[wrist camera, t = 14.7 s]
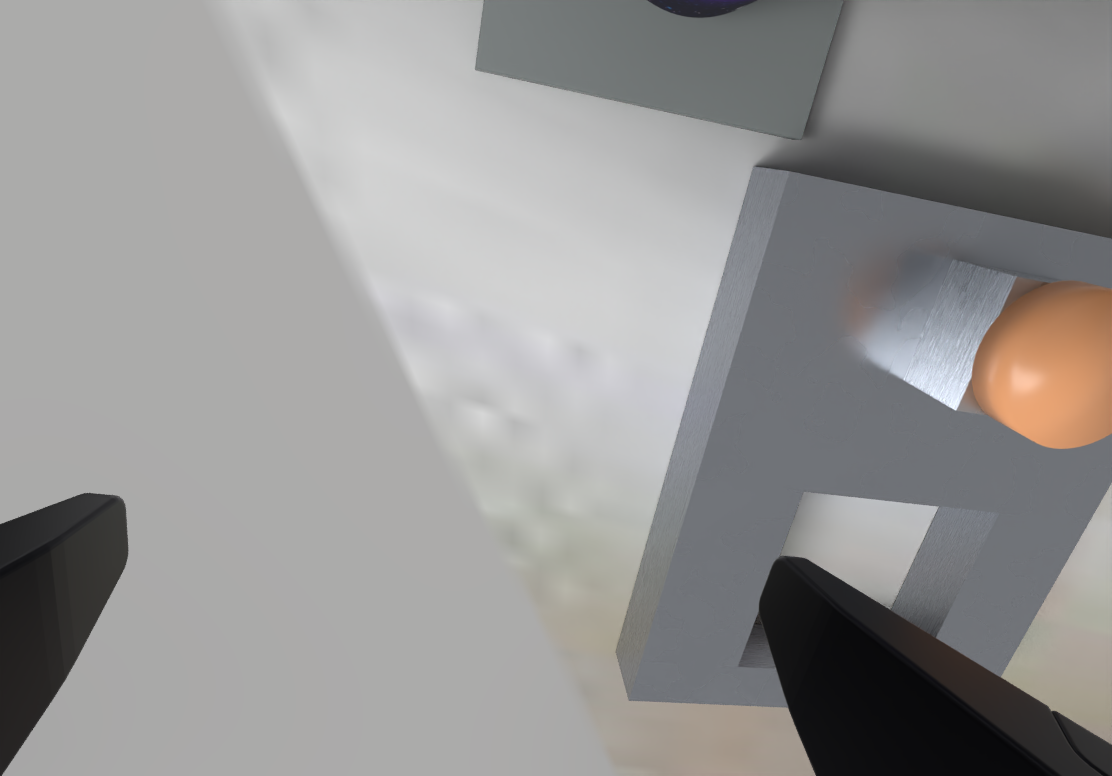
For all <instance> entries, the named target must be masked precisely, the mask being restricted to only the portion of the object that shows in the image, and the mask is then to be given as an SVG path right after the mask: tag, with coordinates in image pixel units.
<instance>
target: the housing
mask: <svg viewBox="0 0 1112 776" xmlns="http://www.w3.org/2000/svg"><path fill="white" fill-rule="evenodd" d="M1068 280H1074V281H1082V282H1086V283H1090V284H1094V285H1098V286H1102V287H1106V288H1110V289H1112V239H1111V238H1106V237H1102V236H1097V235H1092V234H1087V233H1082V232H1078V231H1073V230H1068V229H1063V228H1059V227H1054V226H1049V225H1044V224H1039V223H1035V222H1030V221H1025V220H1020V219H1016V218H1011V217H1006V216H1001V215H997V214H992V213H987V212H982V211H977V210H973V209H968V208H963V207H958V206H954V205H949V204H944V203H939V202H934V201H930V200H925V199H920V198H915V197H911V196H906V195H901V194H896V193H891V192H887V191H882V190H877V189H872V188H868V187H863V186H858V185H853V184H848V183H844V182H839V181H834V180H829V179H825V178H820V177H815V176H810V175H805V174H801V173H796V172H791V171H784V170H777V169H769V168H761V167H753V171H752V174H751V178H750V181H749V185H748V188H747V192H746V195H745V199H744V202H743V206H742V209H741V213H740V217H739V220H738V224H737V227H736V231H735V234H734V238H733V241H732V245H731V248H730V252H729V255H728V259H727V262H726V266H725V269H724V273H723V276H722V280H721V283H720V287H719V290H718V294H717V298H716V301H715V305H714V308H713V312H712V315H711V319H710V322H709V326H708V329H707V333H706V336H705V340H704V343H703V347H702V350H701V354H700V357H699V361H698V364H697V368H696V371H695V375H694V378H693V382H692V386H691V389H690V393H689V396H688V400H687V403H686V407H685V410H684V414H683V417H682V421H681V424H680V428H679V431H678V435H677V438H676V442H675V445H674V449H673V452H672V456H671V459H670V463H669V467H668V470H667V474H666V477H665V481H664V484H663V488H662V491H661V495H660V498H659V502H658V505H657V509H656V512H655V516H654V519H653V523H652V526H651V530H650V533H649V537H648V540H647V544H646V548H645V551H644V555H643V558H642V562H641V565H640V569H639V572H638V576H637V579H636V583H635V586H634V590H633V593H632V597H631V600H630V604H629V607H628V611H627V614H626V618H625V621H624V625H623V628H622V632H621V636H620V639H619V643H618V646H617V650H616V655H617V659H618V662H619V666H620V670H621V673H622V677H623V681H624V685H625V688H626V692H627V696H628V699H629V701H651V702H673V703H696V704H719V705H742V706H764V707H787V708H788V706H787V703H786V700H785V697H784V694H783V691H782V687H781V684H780V681H779V678H778V674H777V671H776V668H775V665H774V661H773V658H772V655H771V652H770V648H769V645H768V642H767V639H766V635H765V632H764V629H763V626H762V625H761V624H754V622H755V620H756V617H757V614H758V612H759V600H760V596H761V593H762V591H763V588H764V585H765V583H766V580H767V577H768V575H769V572H770V569H771V567H772V564H773V562H774V561H775V560H776V558H778V557H779V556H780V553H781V550H782V548H783V545H784V542H785V540H786V537H787V534H788V532H789V529H790V526H791V524H792V521H793V518H794V516H795V513H796V510H797V508H798V505H799V502H800V500H801V497H802V494H803V492H813V493H822V494H831V495H840V496H849V497H858V498H867V499H876V500H885V501H894V502H903V503H912V504H921V505H930V506H939V509H938V511H937V513H936V515H935V517H934V519H933V522H932V524H931V526H930V528H929V530H928V532H927V534H926V537H925V539H924V541H923V543H922V545H921V547H920V549H919V552H918V554H917V556H916V558H915V560H914V562H913V564H912V566H911V569H910V571H909V573H908V575H907V577H906V579H905V581H904V584H903V586H902V588H901V590H900V592H899V594H898V596H897V599H896V601H895V603H894V605H893V607H892V609H891V611H893V612H894V613H896V614H898V615H899V616H901V617H903V618H904V619H906V620H907V621H909V622H911V623H912V624H914V625H916V626H917V627H919V628H921V629H922V630H924V631H925V632H927V633H929V634H930V635H932V636H934V637H935V638H937V639H939V640H940V641H942V642H944V643H945V644H947V645H948V646H950V647H952V648H953V649H955V650H957V651H958V652H960V653H962V654H963V655H965V656H966V657H968V658H970V659H971V660H973V661H975V662H976V663H978V664H980V665H981V666H983V667H984V668H986V669H988V670H989V671H991V672H993V673H994V674H996V675H998V676H999V677H1001V675H1002V674H1003V672H1004V670H1005V668H1006V667H1007V665H1008V663H1009V661H1010V660H1011V658H1012V656H1013V654H1014V653H1015V651H1016V649H1017V647H1018V646H1019V644H1020V642H1021V640H1022V639H1023V637H1024V635H1025V633H1026V632H1027V630H1028V628H1029V626H1030V625H1031V623H1032V621H1033V619H1034V618H1035V616H1036V614H1037V612H1038V611H1039V609H1040V607H1041V605H1042V604H1043V602H1044V600H1045V598H1046V597H1047V595H1048V593H1049V591H1050V590H1051V588H1052V586H1053V584H1054V583H1055V581H1056V579H1057V577H1058V576H1059V574H1060V572H1061V570H1062V569H1063V567H1064V565H1065V563H1066V562H1067V560H1068V558H1069V556H1070V555H1071V553H1072V551H1073V549H1074V548H1075V546H1076V544H1077V542H1078V541H1079V539H1080V537H1081V535H1082V534H1083V532H1084V530H1085V528H1086V527H1087V525H1088V523H1089V521H1090V520H1091V518H1092V516H1093V514H1094V513H1095V511H1096V509H1097V507H1098V506H1099V504H1100V502H1101V500H1102V499H1103V497H1104V495H1105V493H1106V492H1107V490H1108V488H1109V486H1110V485H1111V483H1112V434H1110V435H1108V436H1106V437H1105V438H1103V439H1101V440H1098V441H1096V442H1094V443H1091V444H1088V445H1084V446H1081V447H1076V448H1068V449H1056V448H1049V447H1045V446H1042V445H1040V444H1037V443H1035V442H1034V441H1032V440H1030V439H1028V438H1026V437H1025V436H1023V435H1021V434H1019V433H1017V432H1016V431H1014V430H1012V429H1010V428H1009V427H1007V426H1005V425H1003V424H1001V423H1000V422H998V421H996V420H994V419H993V418H991V417H989V416H988V415H987V414H986V413H985V412H984V411H983V410H982V409H981V407H980V406H979V404H978V402H977V400H976V398H975V395H974V392H973V387H972V368H973V363H974V359H975V355H976V352H977V350H978V347H979V345H980V343H981V341H982V339H983V337H984V335H985V334H986V332H987V330H988V329H989V327H990V326H991V325H992V323H993V322H994V321H995V320H996V318H997V317H998V316H999V315H1000V314H1001V313H1002V312H1003V311H1004V310H1005V309H1006V308H1007V307H1009V306H1010V305H1011V304H1012V303H1013V302H1014V301H1016V300H1017V299H1019V298H1020V297H1022V296H1023V295H1025V294H1026V293H1028V292H1030V291H1032V290H1034V289H1036V288H1038V287H1041V286H1043V285H1046V284H1050V283H1053V282H1058V281H1068Z"/></svg>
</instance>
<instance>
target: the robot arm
mask: <svg viewBox="0 0 1112 776" xmlns="http://www.w3.org/2000/svg"><path fill="white" fill-rule="evenodd" d="M127 557H128V537H127V519H126V507H125V503H124V501H123V499H121V498H120V497H119V496H115V495H105V494H93V493H84V494H80V495H78V496H75V497H72V498H70V499H67V500H64V501H61V502H59V503H56V504H53V505H51V506H48V507H45V508H43V509H40V510H37V511H34V512H32V513H29V514H27V515H24V516H21V517H18V518H16V519H13V520H10V521H8V522H5V523H2V524H0V776H2V774H3V772H4V771H5V770H6V769H7V767H8V765H9V764H10V763H11V761H12V760H13V758H14V756H15V755H16V754H17V752H18V751H19V749H20V748H21V746H22V745H23V743H24V742H25V740H26V739H27V737H28V736H29V734H30V732H31V731H32V730H33V728H34V727H35V725H36V724H37V722H38V721H39V719H40V718H41V716H42V715H43V713H44V712H45V710H46V709H47V707H48V706H49V704H50V703H51V701H52V700H53V698H54V697H55V695H56V694H57V692H58V690H59V689H60V687H61V686H62V684H63V683H64V681H65V680H66V678H67V676H68V674H69V672H70V670H71V669H72V667H73V665H74V663H75V662H76V660H77V658H78V656H79V654H80V652H81V650H82V648H83V647H84V644H85V642H86V641H87V639H88V637H89V635H90V633H91V631H92V629H93V627H94V626H95V624H96V622H97V620H98V618H99V616H100V614H101V612H102V610H103V608H104V606H105V605H106V603H107V600H108V599H109V597H110V595H111V593H112V591H113V589H114V587H115V586H116V584H117V582H118V580H119V578H120V576H121V574H122V572H123V570H124V568H125V565H126V562H127ZM759 615H760V619H761V622H762V626H763V629H764V632H765V635H766V639H767V642H768V645H769V648H770V652H771V655H772V658H773V661H774V665H775V668H776V671H777V674H778V678H779V681H780V684H781V687H782V691H783V694H784V697H785V700H786V703H787V706H788V708H789V711H790V714H791V717H792V719H793V722H794V724H795V727H796V729H797V732H798V734H799V736H800V739H801V741H802V744H803V746H804V748H805V751H806V753H807V756H808V758H809V760H810V763H811V765H812V768H813V770H814V772H815V775H816V776H1112V745H1111V744H1110V743H1108V742H1106V741H1105V740H1103V739H1101V738H1100V737H1098V736H1096V735H1095V734H1093V733H1091V732H1090V731H1088V730H1086V729H1085V728H1083V727H1081V726H1080V725H1078V724H1076V723H1075V722H1073V721H1072V720H1070V719H1068V718H1067V717H1065V716H1063V715H1062V714H1060V713H1058V712H1057V711H1051V710H1050V708H1049V707H1048V706H1047V705H1045V704H1043V703H1042V702H1040V701H1039V700H1037V699H1035V698H1034V697H1032V696H1030V695H1029V694H1027V693H1025V692H1024V691H1022V690H1021V689H1019V688H1017V687H1016V686H1014V685H1012V684H1011V683H1009V682H1007V681H1006V680H1004V679H1003V678H1001V677H999V676H998V675H996V674H994V673H993V672H991V671H989V670H988V669H986V668H984V667H983V666H981V665H980V664H978V663H976V662H975V661H973V660H971V659H970V658H968V657H966V656H965V655H963V654H962V653H960V652H958V651H957V650H955V649H953V648H952V647H950V646H948V645H947V644H945V643H944V642H942V641H940V640H939V639H937V638H935V637H934V636H932V635H930V634H929V633H927V632H925V631H924V630H922V629H921V628H919V627H917V626H916V625H914V624H912V623H911V622H909V621H907V620H906V619H904V618H903V617H901V616H899V615H898V614H896V613H894V612H893V611H891V610H889V609H888V608H886V607H885V606H883V605H881V604H880V603H878V602H876V601H875V600H873V599H871V598H870V597H868V596H866V595H865V594H863V593H862V592H860V591H858V590H857V589H855V588H853V587H852V586H850V585H848V584H847V583H845V582H844V581H842V580H840V579H839V578H837V577H835V576H834V575H832V574H830V573H829V572H827V571H826V570H824V569H822V568H821V567H819V566H817V565H816V564H814V563H812V562H811V561H809V560H807V559H805V558H801V557H790V556H780V557H778V558H776V560H775V561H774V562H773V564H772V567H771V569H770V572H769V575H768V577H767V580H766V583H765V585H764V588H763V591H762V593H761V596H760V600H759Z"/></svg>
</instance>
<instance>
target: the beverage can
mask: <svg viewBox="0 0 1112 776" xmlns="http://www.w3.org/2000/svg"><path fill="white" fill-rule="evenodd" d="M647 1H649V2H650V3H652V4H653V5H655V6H657V7H659V8H661V9H663V10H665V11H667V12H670V13H673V14H676V15H680V16H685V17H692V18H707V17H715V16H720V15H724V14H727V13H730V12H733V11H735V10H738V9H740V8H742V7H744V6H746V5H748V4H751V3H753V2H755V1H757V0H647Z"/></svg>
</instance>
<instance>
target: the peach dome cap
mask: <svg viewBox="0 0 1112 776" xmlns="http://www.w3.org/2000/svg"><path fill="white" fill-rule="evenodd" d="M972 387H973V392H974V395H975V398H976V400H977V402H978V404H979V406H980V407H981V409H982V410H983V411H984V412H985V413H986V414H987V415H988V416H989V417H991V418H993V419H994V420H996V421H998V422H1000V423H1001V424H1003V425H1005V426H1007V427H1009V428H1010V429H1012V430H1014V431H1016V432H1017V433H1019V434H1021V435H1023V436H1025V437H1026V438H1028V439H1030V440H1032V441H1034V442H1035V443H1037V444H1040V445H1042V446H1045V447H1049V448H1056V449H1068V448H1076V447H1081V446H1084V445H1088V444H1091V443H1094V442H1096V441H1098V440H1101V439H1103V438H1105V437H1106V436H1108V435H1110V434H1112V289H1110V288H1106V287H1102V286H1098V285H1094V284H1090V283H1086V282H1082V281H1074V280H1068V281H1058V282H1053V283H1050V284H1046V285H1043V286H1041V287H1038V288H1036V289H1034V290H1032V291H1030V292H1028V293H1026V294H1025V295H1023V296H1022V297H1020V298H1019V299H1017V300H1016V301H1014V302H1013V303H1012V304H1011V305H1010V306H1009V307H1007V308H1006V309H1005V310H1004V311H1003V312H1002V313H1001V314H1000V315H999V316H998V317H997V318H996V320H995V321H994V322H993V323H992V325H991V326H990V327H989V329H988V330H987V332H986V334H985V335H984V337H983V339H982V341H981V343H980V345H979V347H978V350H977V352H976V355H975V359H974V363H973V368H972Z"/></svg>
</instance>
